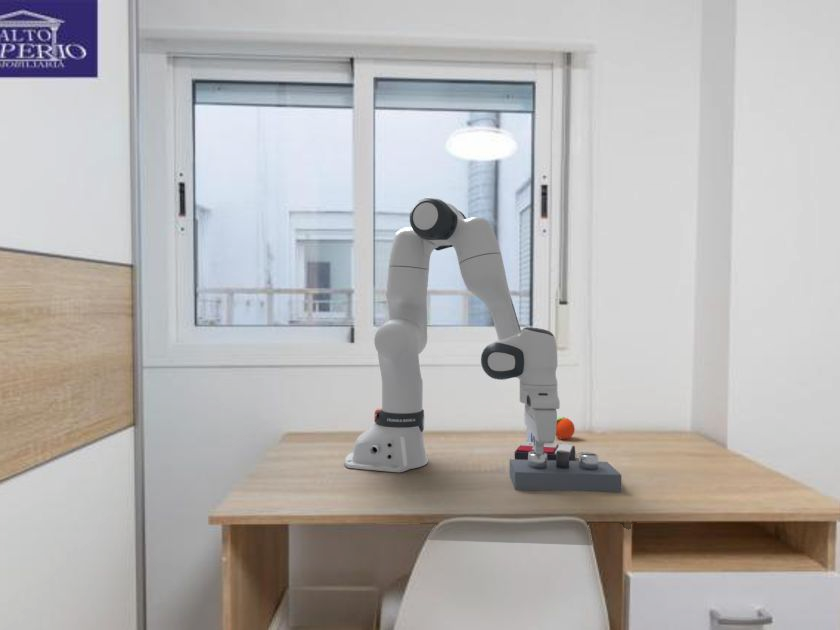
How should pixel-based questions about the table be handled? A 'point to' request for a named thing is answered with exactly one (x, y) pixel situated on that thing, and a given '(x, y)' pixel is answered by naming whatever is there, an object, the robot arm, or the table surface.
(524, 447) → the calculator
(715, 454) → the table surface
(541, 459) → the knob
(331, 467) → the table surface
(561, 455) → the dial
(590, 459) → the knob
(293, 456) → the table surface
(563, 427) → the clementine
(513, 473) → the panel
